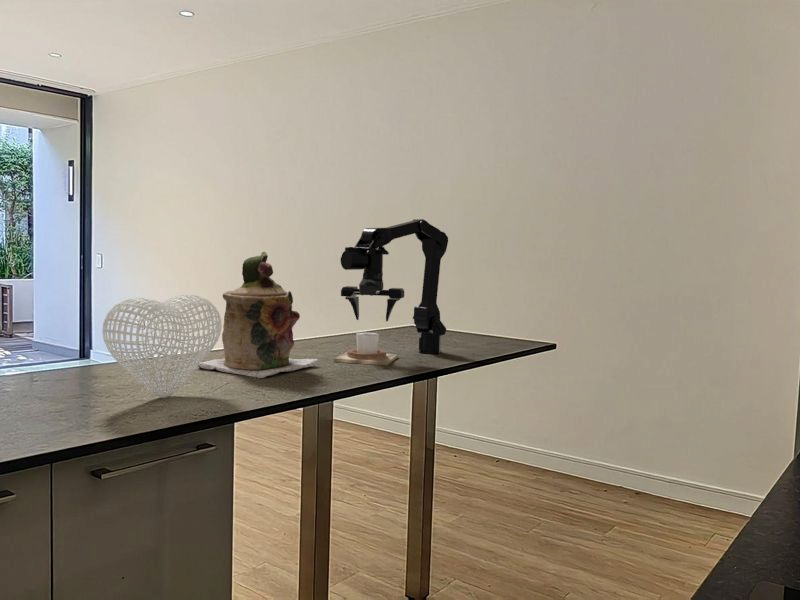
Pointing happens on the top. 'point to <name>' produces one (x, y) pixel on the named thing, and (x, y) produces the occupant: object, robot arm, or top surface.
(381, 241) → the robot arm
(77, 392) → the top surface
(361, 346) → the white cylinder
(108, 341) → the heart
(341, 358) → the collar board
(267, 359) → the cookie jar
